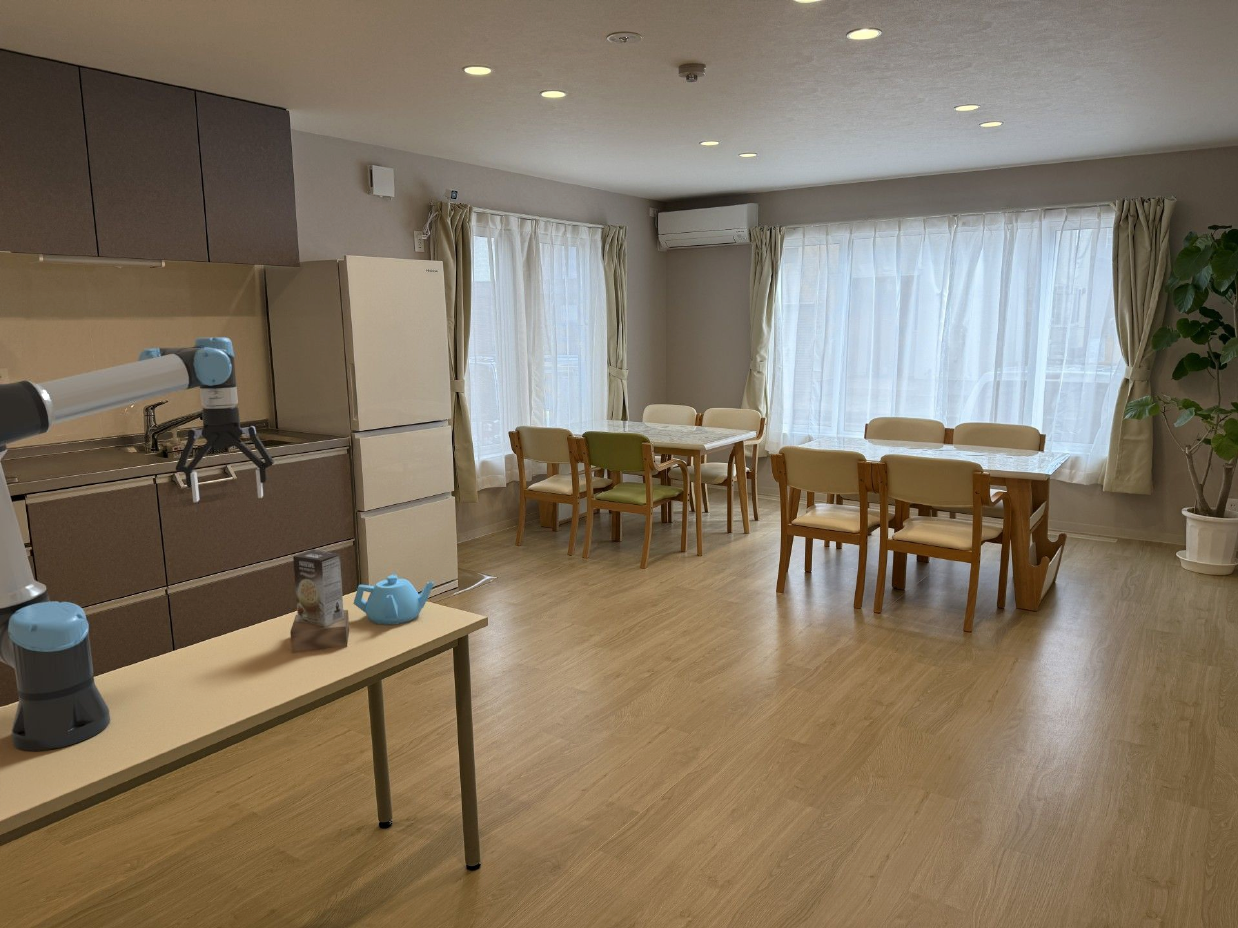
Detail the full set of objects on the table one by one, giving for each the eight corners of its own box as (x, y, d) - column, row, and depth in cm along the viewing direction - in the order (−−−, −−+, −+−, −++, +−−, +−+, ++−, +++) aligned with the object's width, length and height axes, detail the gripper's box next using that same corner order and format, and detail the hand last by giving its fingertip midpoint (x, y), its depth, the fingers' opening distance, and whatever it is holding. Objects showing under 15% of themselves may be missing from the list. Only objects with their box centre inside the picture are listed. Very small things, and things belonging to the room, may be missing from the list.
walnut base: (292, 652, 192) (290, 631, 191) (297, 634, 203) (295, 614, 203) (347, 646, 195) (345, 626, 194) (349, 629, 207) (348, 609, 206)
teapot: (398, 603, 226) (395, 564, 224) (437, 613, 217) (435, 572, 216) (351, 620, 213) (348, 579, 212) (391, 631, 205) (388, 588, 203)
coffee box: (296, 621, 198) (290, 555, 195) (316, 613, 203) (311, 549, 201) (325, 627, 194) (320, 559, 191) (345, 618, 199) (341, 552, 197)
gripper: (154, 410, 183) (164, 506, 186) (277, 405, 189) (284, 498, 192) (163, 407, 190) (172, 499, 193) (281, 402, 196) (288, 492, 200)
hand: (228, 499), depth 193 cm, fingers open, 13 cm apart
